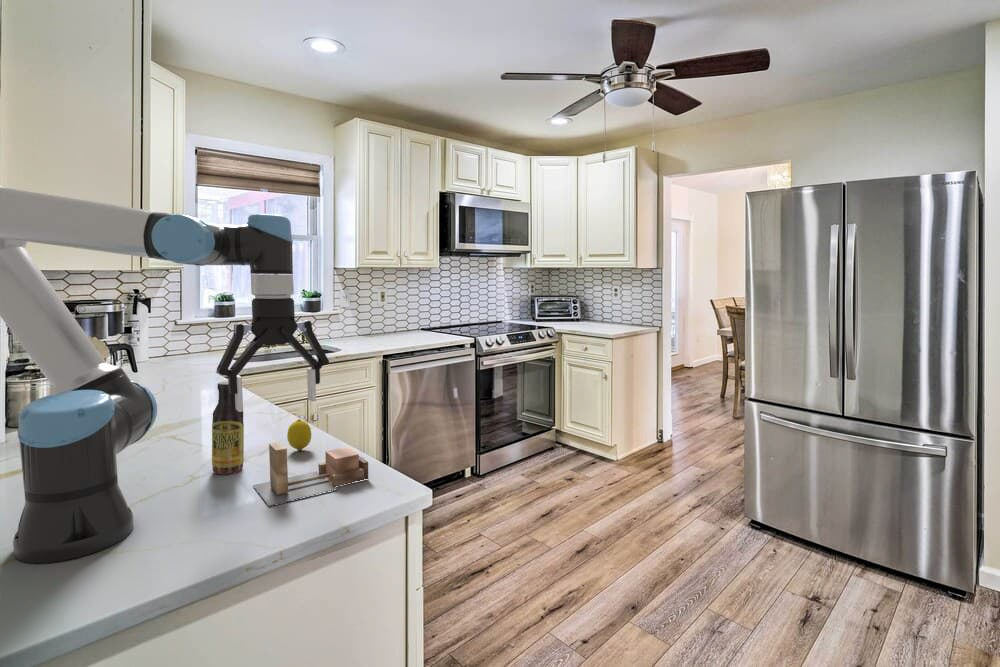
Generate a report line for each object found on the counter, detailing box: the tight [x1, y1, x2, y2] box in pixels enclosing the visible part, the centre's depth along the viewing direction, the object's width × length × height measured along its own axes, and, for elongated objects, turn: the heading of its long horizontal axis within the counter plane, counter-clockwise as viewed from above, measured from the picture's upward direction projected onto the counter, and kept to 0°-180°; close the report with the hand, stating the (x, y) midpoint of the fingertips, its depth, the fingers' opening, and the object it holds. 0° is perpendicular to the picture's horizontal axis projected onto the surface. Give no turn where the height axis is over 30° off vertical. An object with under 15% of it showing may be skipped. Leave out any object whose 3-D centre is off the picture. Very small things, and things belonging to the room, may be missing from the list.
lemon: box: [286, 418, 312, 452], centre depth 129 cm, size 6×6×8 cm
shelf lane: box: [252, 455, 369, 507], centre depth 109 cm, size 20×12×4 cm, turn 128°
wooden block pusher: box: [268, 441, 360, 495], centre depth 109 cm, size 16×6×9 cm, turn 128°
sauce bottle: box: [211, 380, 245, 475], centre depth 115 cm, size 6×6×20 cm
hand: (277, 405), depth 103 cm, fingers open, 13 cm apart
